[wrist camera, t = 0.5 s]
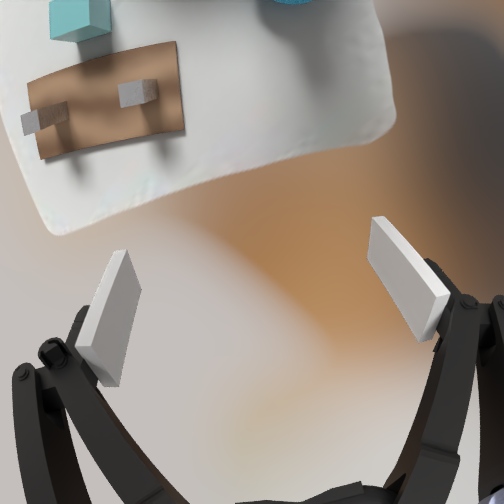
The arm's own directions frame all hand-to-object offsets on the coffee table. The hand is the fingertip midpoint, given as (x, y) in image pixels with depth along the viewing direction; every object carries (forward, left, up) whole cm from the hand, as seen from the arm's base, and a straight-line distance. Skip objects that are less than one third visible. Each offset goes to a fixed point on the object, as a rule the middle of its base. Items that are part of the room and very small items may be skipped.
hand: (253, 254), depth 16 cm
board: (-9, -17, -28) cm, 34 cm away
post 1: (-9, -23, -27) cm, 36 cm away
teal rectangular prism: (-21, -17, -28) cm, 38 cm away
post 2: (-9, -10, -27) cm, 30 cm away
